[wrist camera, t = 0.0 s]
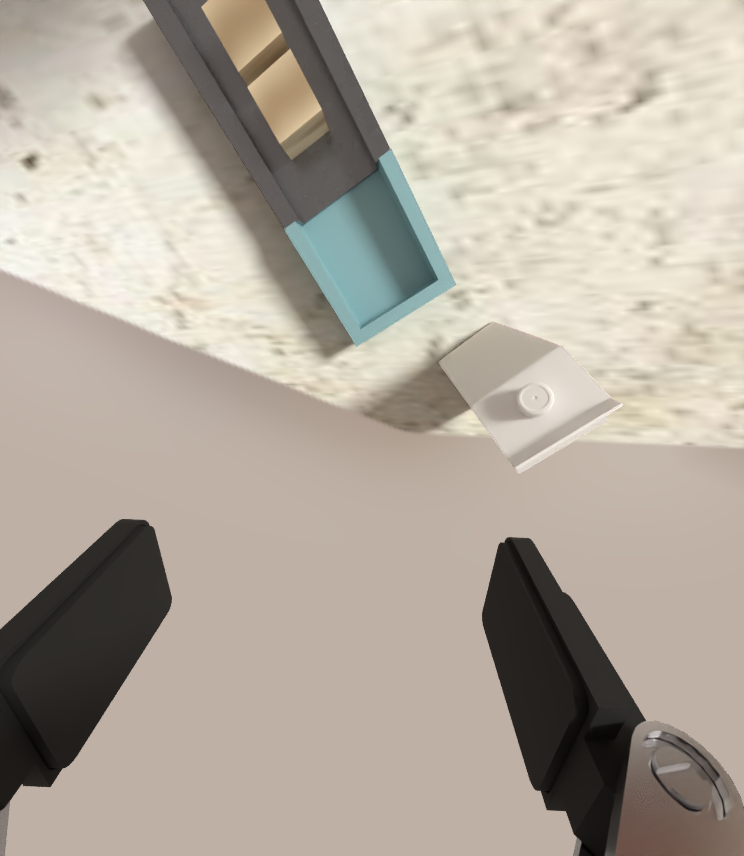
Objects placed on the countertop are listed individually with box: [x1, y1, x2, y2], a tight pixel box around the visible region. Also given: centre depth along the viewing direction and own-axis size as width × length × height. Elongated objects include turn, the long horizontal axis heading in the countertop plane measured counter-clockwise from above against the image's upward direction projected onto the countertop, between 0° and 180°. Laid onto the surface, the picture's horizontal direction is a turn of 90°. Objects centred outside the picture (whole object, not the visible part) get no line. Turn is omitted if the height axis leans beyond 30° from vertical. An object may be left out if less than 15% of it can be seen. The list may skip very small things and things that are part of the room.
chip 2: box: [247, 49, 329, 160], centre depth 28 cm, size 4×4×4 cm
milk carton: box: [438, 322, 623, 474], centre depth 30 cm, size 7×7×19 cm
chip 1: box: [201, 0, 289, 86], centre depth 26 cm, size 4×4×4 cm
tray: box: [284, 149, 456, 347], centre depth 33 cm, size 12×11×4 cm
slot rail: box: [143, 0, 390, 229], centre depth 28 cm, size 18×11×3 cm, turn 32°
